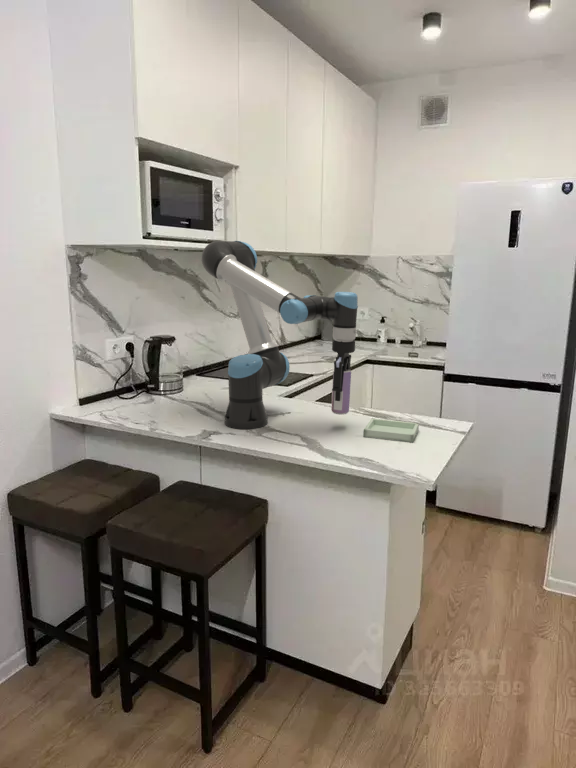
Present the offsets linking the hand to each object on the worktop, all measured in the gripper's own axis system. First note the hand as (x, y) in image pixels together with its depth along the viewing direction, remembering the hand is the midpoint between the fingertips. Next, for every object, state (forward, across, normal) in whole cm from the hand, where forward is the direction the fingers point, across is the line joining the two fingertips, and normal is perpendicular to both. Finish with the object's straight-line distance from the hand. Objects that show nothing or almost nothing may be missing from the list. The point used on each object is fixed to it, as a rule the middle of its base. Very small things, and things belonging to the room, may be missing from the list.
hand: (340, 406), depth 187 cm
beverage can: (+2, 0, 0) cm, 2 cm away
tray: (+7, 0, -18) cm, 19 cm away
